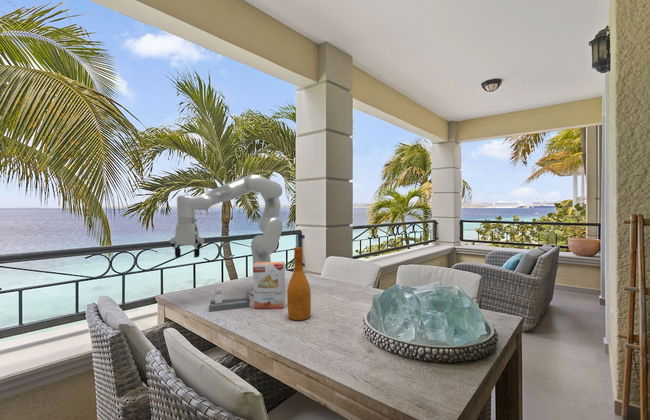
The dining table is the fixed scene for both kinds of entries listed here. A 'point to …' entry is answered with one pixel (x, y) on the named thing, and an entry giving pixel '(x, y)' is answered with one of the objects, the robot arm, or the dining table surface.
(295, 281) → the wine bottle
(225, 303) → the board
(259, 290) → the cracker box
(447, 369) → the dining table surface
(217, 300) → the block
